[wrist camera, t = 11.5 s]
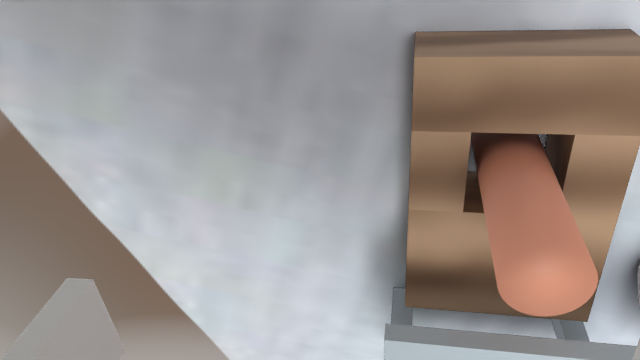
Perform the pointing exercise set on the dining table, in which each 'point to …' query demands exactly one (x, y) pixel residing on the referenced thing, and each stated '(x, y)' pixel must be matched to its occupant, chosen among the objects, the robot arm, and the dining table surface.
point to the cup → (639, 284)
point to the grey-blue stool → (490, 342)
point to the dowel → (531, 227)
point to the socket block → (514, 117)
